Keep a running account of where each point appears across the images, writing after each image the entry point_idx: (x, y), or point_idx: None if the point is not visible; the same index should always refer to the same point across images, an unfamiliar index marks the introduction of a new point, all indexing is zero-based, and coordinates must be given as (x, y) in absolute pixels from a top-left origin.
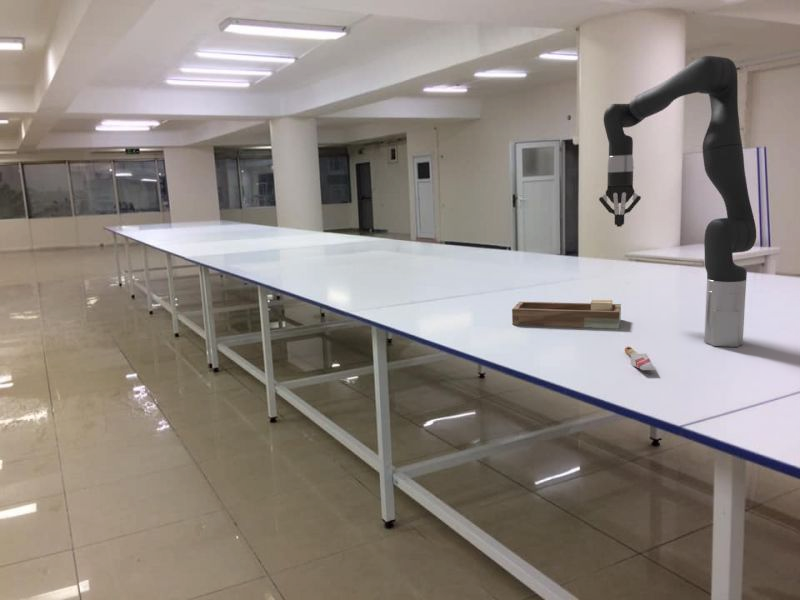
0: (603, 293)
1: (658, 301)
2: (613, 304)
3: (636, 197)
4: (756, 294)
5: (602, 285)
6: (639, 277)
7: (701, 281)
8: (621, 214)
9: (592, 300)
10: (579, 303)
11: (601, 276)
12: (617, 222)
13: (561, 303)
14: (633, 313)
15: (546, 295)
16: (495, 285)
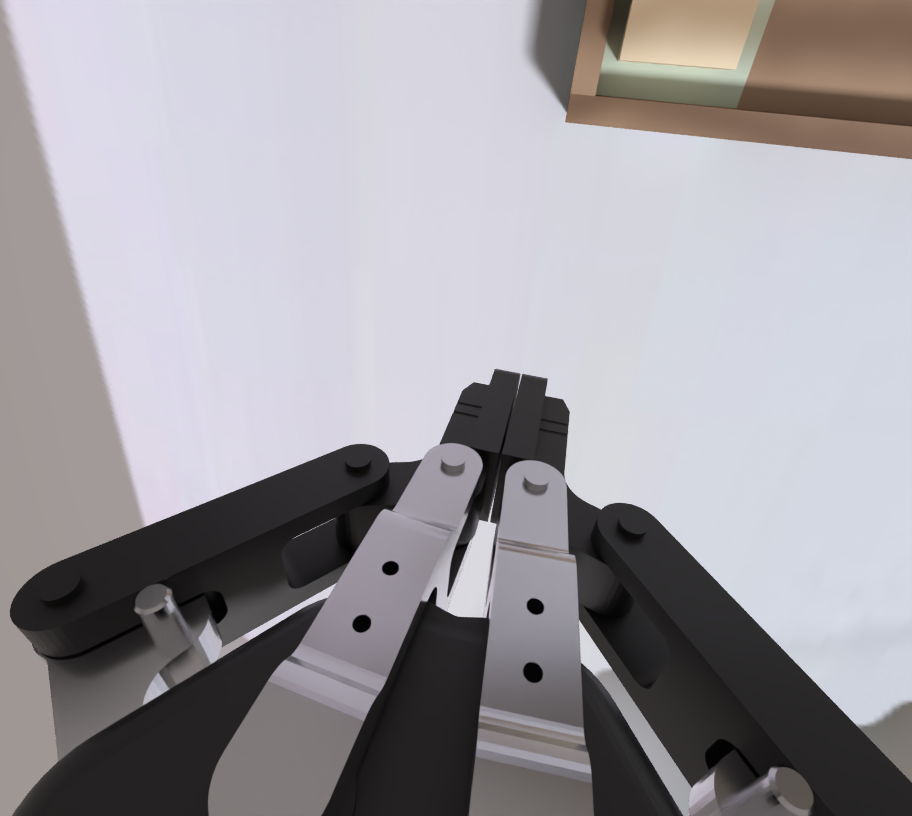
0: None
1: (410, 418)
2: (603, 109)
3: (112, 640)
4: (192, 463)
5: None
6: None
7: (314, 595)
8: (470, 450)
9: (746, 26)
10: (783, 134)
11: None
12: (536, 397)
13: (898, 128)
14: (501, 244)
15: (761, 541)
16: (898, 689)
